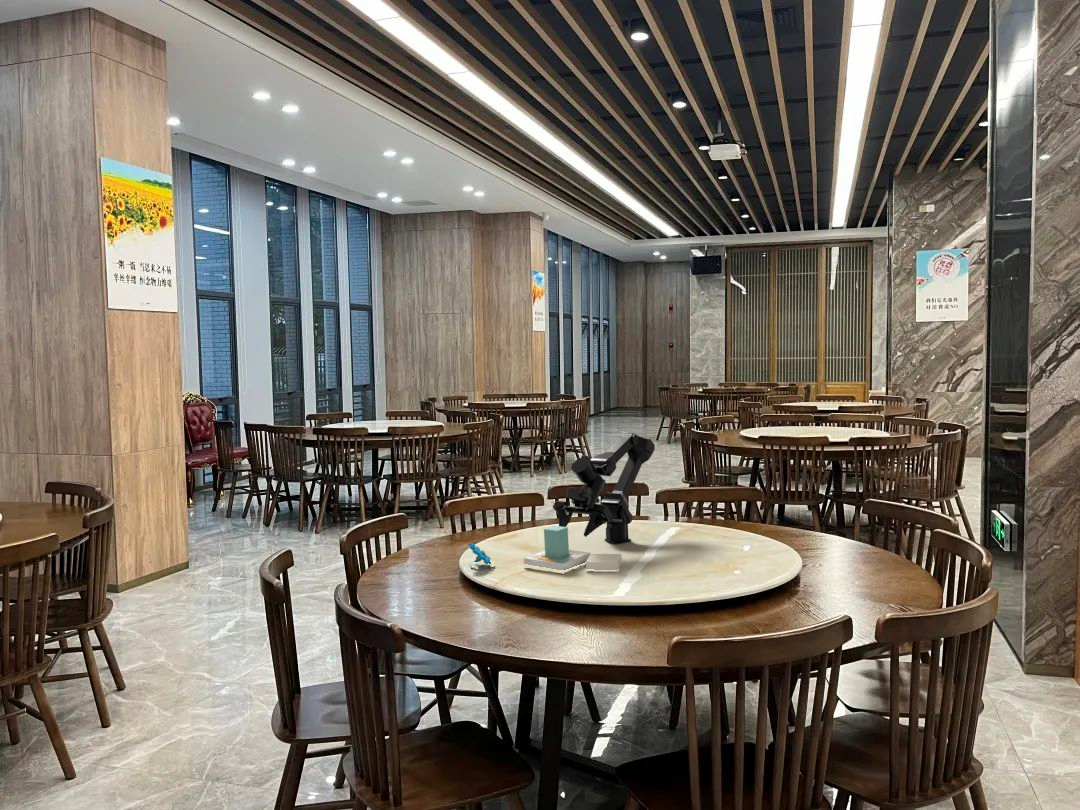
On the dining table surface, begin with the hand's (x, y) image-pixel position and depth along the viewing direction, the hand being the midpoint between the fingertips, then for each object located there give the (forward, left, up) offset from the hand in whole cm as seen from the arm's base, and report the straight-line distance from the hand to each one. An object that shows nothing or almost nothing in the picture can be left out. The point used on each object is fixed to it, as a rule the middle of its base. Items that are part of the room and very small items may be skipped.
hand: (572, 534), depth 266 cm
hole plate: (+7, +3, -8) cm, 11 cm away
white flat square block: (-2, +15, -8) cm, 17 cm away
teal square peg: (+7, +3, -7) cm, 11 cm away
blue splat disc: (+26, -9, -8) cm, 29 cm away
